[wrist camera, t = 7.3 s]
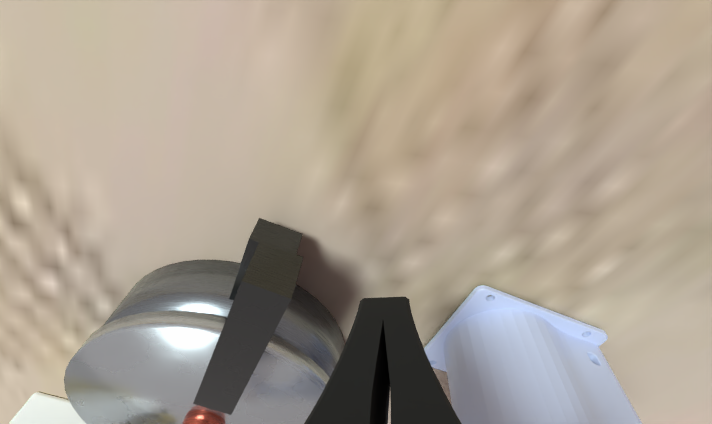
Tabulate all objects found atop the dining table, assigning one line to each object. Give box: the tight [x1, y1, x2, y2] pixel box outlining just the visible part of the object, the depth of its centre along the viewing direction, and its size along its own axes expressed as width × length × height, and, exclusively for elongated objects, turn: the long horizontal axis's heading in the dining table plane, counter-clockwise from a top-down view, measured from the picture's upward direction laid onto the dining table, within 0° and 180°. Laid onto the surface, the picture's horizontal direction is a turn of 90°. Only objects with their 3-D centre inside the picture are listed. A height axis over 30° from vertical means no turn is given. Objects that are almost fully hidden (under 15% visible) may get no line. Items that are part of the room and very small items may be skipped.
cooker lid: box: [64, 241, 329, 424], centre depth 21 cm, size 22×16×3 cm
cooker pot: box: [103, 218, 345, 378], centre depth 25 cm, size 20×16×4 cm
